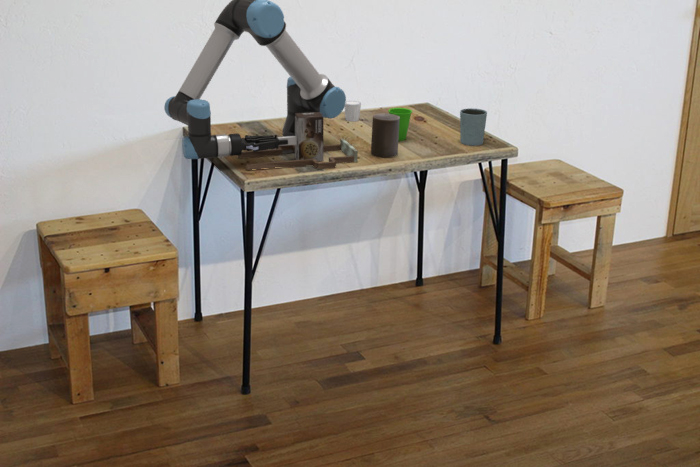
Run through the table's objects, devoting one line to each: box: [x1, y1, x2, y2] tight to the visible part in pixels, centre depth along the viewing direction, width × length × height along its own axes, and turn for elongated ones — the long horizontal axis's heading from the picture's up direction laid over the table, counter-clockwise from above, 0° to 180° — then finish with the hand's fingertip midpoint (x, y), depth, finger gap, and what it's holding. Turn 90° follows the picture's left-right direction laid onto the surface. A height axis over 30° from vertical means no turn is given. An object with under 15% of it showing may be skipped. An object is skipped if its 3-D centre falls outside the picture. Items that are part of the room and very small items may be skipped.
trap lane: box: [236, 138, 359, 171], centre depth 318 cm, size 25×39×4 cm, turn 109°
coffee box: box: [294, 112, 325, 162], centre depth 317 cm, size 9×6×16 cm
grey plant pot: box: [459, 107, 488, 147], centre depth 342 cm, size 10×10×12 cm
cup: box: [387, 107, 413, 142], centre depth 344 cm, size 9×9×11 cm
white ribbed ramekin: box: [344, 100, 362, 122], centre depth 369 cm, size 7×7×7 cm
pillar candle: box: [370, 112, 400, 158], centre depth 325 cm, size 10×10×15 cm
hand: (296, 140), depth 315 cm, fingers closed
